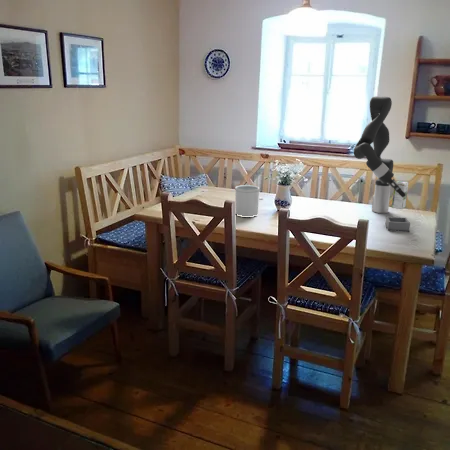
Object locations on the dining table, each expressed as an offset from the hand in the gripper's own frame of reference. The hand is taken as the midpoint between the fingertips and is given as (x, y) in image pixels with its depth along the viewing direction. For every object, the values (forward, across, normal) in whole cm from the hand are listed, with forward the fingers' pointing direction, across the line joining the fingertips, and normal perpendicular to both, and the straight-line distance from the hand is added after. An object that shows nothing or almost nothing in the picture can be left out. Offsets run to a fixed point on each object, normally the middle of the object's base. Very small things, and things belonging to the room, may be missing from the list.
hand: (402, 194), depth 256 cm
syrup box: (+4, 0, +6) cm, 8 cm away
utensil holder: (-48, +14, +76) cm, 91 cm away
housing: (+13, 0, +14) cm, 19 cm away
